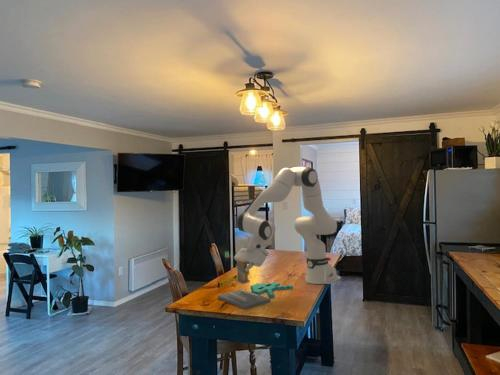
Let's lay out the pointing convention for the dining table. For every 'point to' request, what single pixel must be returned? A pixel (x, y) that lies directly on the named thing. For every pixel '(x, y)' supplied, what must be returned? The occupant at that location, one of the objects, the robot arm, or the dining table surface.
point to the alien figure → (268, 288)
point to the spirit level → (228, 280)
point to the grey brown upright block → (242, 272)
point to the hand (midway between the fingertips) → (241, 269)
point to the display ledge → (244, 299)
